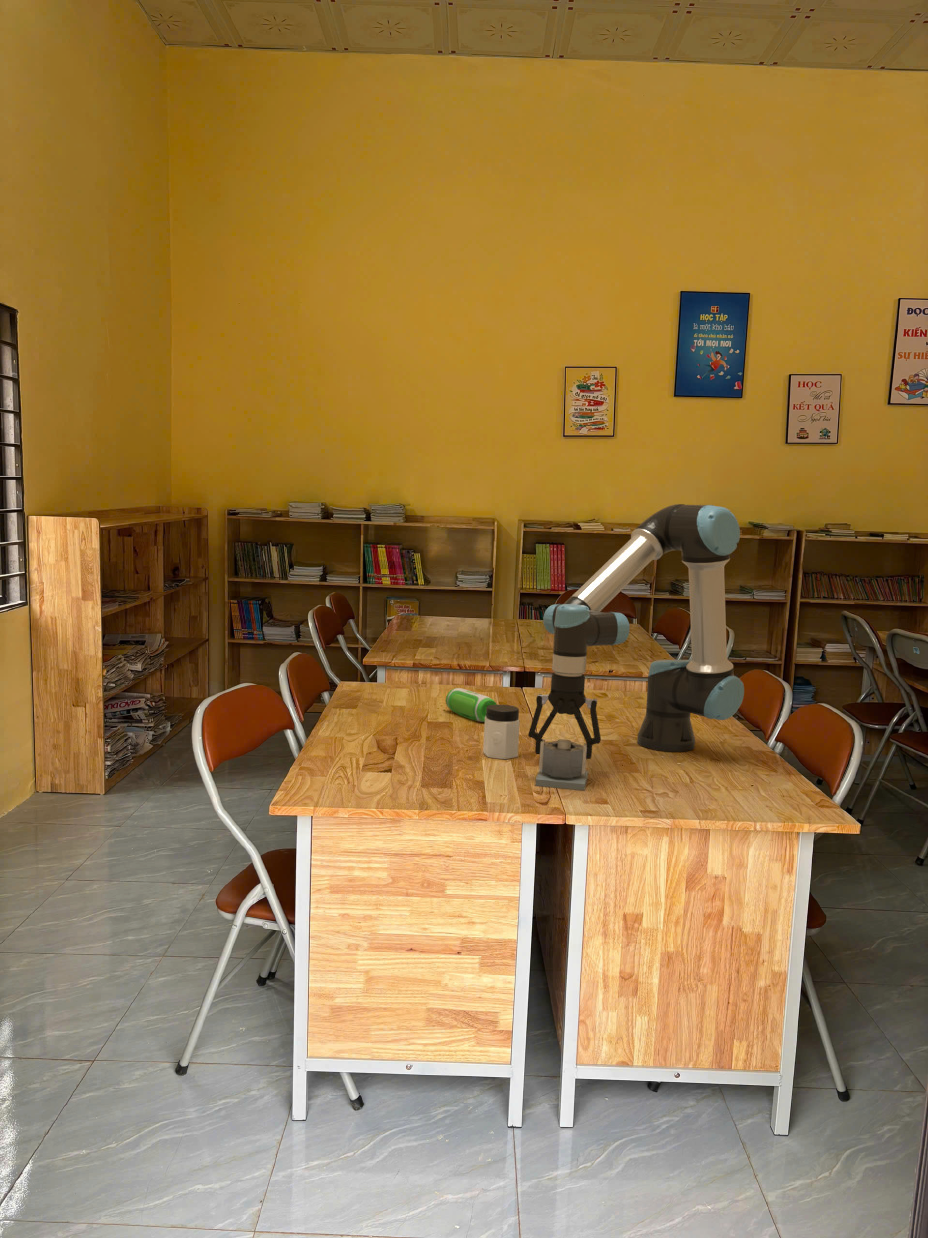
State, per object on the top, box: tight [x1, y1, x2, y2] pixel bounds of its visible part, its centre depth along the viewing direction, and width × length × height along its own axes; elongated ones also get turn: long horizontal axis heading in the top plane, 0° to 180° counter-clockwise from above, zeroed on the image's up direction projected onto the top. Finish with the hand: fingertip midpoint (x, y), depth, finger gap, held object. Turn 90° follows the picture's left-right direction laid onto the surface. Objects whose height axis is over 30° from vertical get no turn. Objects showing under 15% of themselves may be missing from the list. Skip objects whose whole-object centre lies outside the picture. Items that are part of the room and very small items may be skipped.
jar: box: [482, 704, 521, 760], centre depth 245 cm, size 9×8×12 cm
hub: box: [542, 740, 584, 778], centre depth 224 cm, size 9×9×6 cm
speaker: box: [445, 687, 498, 723], centre depth 285 cm, size 18×7×8 cm, turn 35°
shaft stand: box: [534, 738, 589, 791], centre depth 224 cm, size 11×11×10 cm
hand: (562, 770), depth 224 cm, fingers open, 9 cm apart
